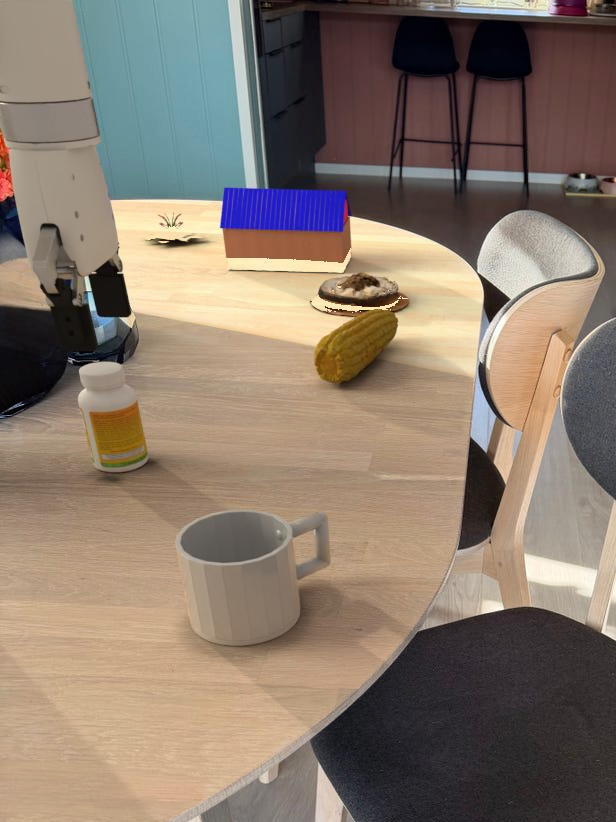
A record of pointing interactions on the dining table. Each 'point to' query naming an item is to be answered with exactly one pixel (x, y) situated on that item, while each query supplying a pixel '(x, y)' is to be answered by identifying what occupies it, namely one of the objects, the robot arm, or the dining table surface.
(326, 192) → the house
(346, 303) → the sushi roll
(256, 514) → the coffee mug
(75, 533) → the dining table surface
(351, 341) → the food
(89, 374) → the supplement bottle
